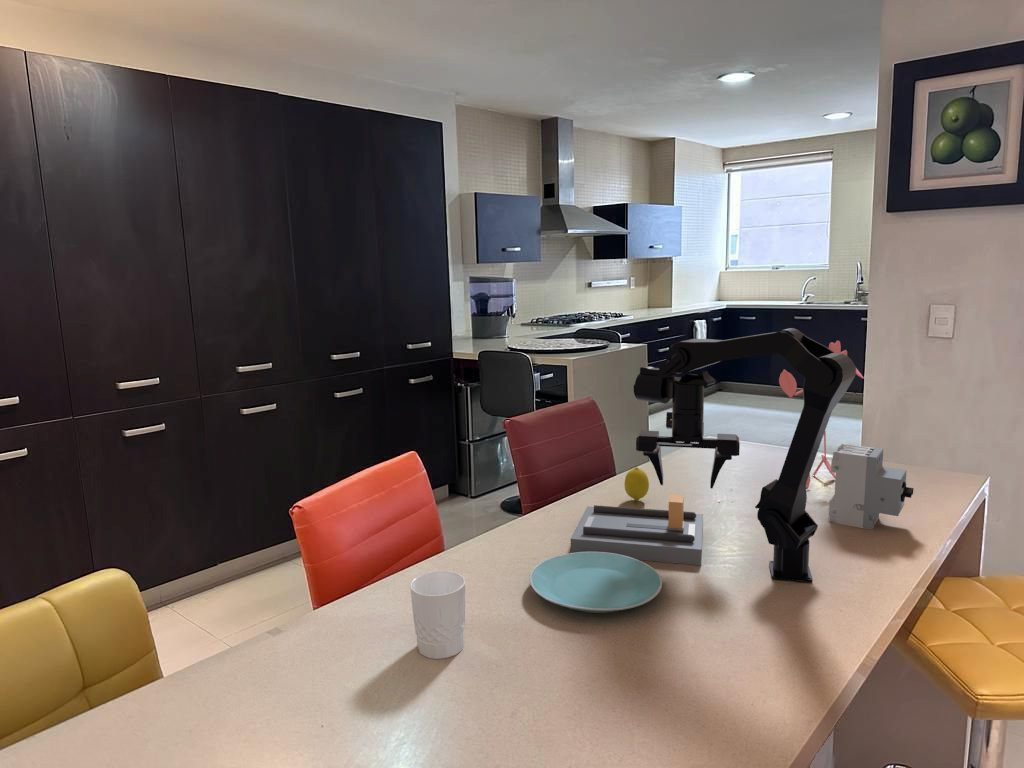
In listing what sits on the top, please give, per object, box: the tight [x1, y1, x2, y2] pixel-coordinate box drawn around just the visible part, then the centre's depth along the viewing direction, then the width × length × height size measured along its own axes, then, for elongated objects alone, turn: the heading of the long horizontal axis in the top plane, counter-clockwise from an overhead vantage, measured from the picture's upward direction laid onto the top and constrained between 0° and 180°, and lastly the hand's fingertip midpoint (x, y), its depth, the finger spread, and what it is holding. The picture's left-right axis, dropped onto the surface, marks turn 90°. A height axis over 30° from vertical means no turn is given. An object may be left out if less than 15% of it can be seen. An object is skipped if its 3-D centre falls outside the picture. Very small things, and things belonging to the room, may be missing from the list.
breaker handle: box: [668, 493, 685, 531], centre depth 133 cm, size 4×3×6 cm
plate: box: [529, 552, 663, 614], centre depth 115 cm, size 22×22×3 cm
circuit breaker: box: [827, 443, 914, 531], centre depth 140 cm, size 8×14×15 cm, turn 53°
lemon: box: [624, 467, 650, 502], centre depth 158 cm, size 6×6×8 cm
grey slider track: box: [583, 504, 697, 542], centre depth 135 cm, size 13×21×1 cm, turn 74°
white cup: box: [409, 570, 466, 660], centre depth 99 cm, size 8×8×10 cm
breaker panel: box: [570, 506, 704, 566], centre depth 136 cm, size 18×24×3 cm
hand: (686, 486), depth 132 cm, fingers open, 9 cm apart
